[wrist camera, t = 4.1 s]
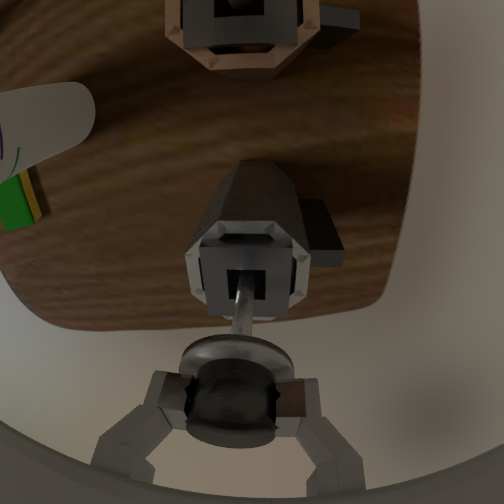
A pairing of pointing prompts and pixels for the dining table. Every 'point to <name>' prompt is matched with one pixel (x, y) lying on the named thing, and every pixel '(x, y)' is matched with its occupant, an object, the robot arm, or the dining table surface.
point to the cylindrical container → (42, 123)
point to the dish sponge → (18, 202)
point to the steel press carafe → (259, 242)
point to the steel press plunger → (235, 380)
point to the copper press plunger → (242, 7)
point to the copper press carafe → (255, 33)
